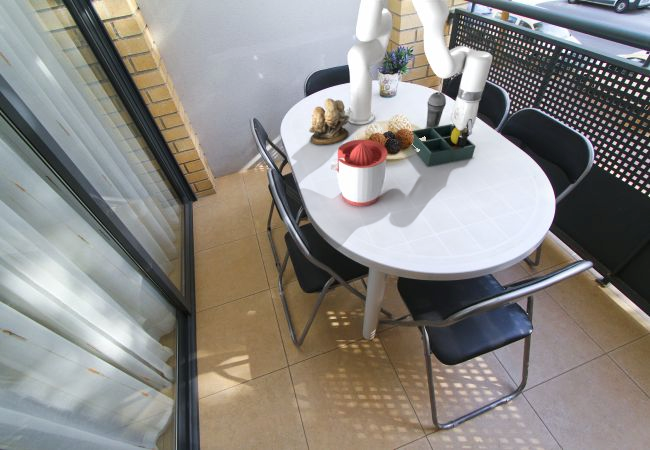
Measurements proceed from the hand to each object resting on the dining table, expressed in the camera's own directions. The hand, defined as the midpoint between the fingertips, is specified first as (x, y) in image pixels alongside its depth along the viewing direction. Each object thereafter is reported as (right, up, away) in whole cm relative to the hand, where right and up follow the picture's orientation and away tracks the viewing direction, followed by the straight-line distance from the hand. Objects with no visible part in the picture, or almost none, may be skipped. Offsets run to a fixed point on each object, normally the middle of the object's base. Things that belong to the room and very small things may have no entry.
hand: (457, 141), depth 118 cm
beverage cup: (-3, +10, +18) cm, 21 cm away
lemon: (0, -1, +1) cm, 2 cm away
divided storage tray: (-5, -2, +6) cm, 8 cm away
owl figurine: (-47, +7, +19) cm, 51 cm away
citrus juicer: (-38, -22, -10) cm, 45 cm away
